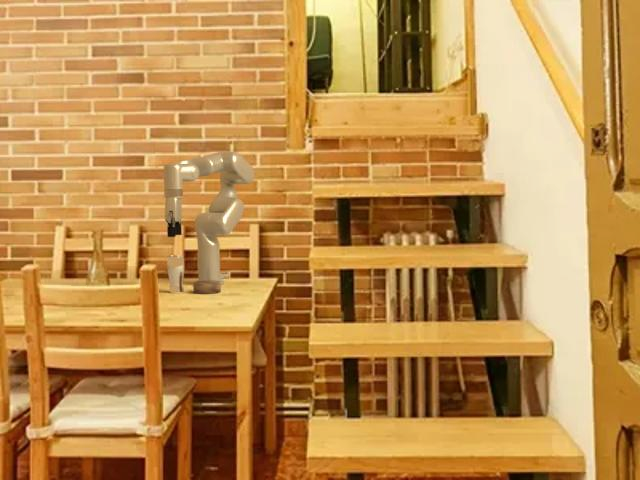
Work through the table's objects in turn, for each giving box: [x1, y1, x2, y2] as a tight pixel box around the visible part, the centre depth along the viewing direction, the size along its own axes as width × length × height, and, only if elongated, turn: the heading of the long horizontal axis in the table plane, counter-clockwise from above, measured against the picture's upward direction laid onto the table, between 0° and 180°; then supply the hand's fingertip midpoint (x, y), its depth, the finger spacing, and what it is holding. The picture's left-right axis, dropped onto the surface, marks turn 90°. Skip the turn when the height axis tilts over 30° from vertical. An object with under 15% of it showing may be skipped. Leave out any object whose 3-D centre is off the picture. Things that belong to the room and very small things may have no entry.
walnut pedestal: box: [192, 280, 221, 295], centre depth 293 cm, size 11×11×4 cm
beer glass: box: [166, 254, 185, 294], centre depth 293 cm, size 7×7×15 cm
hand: (174, 235), depth 292 cm, fingers open, 9 cm apart
